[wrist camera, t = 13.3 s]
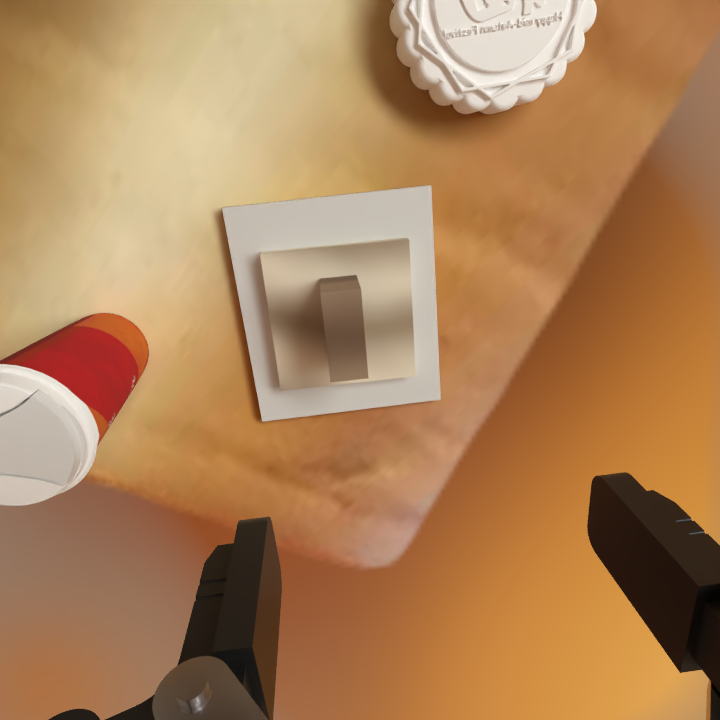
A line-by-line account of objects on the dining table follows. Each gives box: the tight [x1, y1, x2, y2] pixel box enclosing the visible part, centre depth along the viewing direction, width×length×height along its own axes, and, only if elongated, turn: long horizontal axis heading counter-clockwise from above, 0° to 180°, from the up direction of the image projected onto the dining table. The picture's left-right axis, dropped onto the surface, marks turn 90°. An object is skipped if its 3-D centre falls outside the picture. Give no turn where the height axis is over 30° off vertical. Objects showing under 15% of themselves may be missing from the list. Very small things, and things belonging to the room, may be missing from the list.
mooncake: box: [389, 0, 597, 114], centre depth 31 cm, size 12×12×4 cm
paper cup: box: [0, 313, 149, 506], centre depth 31 cm, size 8×8×14 cm
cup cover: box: [260, 237, 416, 391], centre depth 35 cm, size 10×10×5 cm
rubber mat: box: [222, 185, 441, 422], centre depth 38 cm, size 16×14×1 cm
